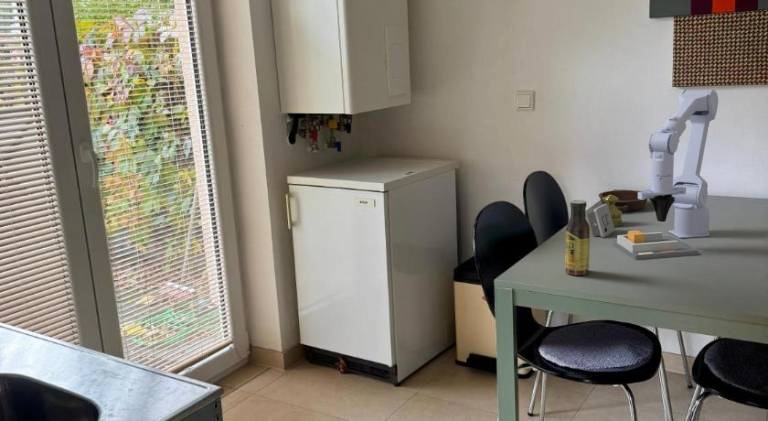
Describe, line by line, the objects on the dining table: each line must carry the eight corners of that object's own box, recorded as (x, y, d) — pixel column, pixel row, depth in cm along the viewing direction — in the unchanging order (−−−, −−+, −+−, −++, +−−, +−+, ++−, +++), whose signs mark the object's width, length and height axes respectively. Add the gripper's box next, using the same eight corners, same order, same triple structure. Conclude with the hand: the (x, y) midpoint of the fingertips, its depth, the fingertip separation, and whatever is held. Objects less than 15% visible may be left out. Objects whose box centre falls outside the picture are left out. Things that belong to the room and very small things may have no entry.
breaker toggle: (637, 244, 210) (637, 230, 209) (644, 248, 205) (644, 234, 204) (627, 244, 210) (627, 230, 209) (634, 249, 205) (634, 234, 204)
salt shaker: (597, 227, 235) (597, 197, 233) (599, 221, 242) (600, 192, 240) (621, 228, 233) (621, 198, 230) (622, 222, 239) (623, 193, 237)
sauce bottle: (561, 270, 195) (561, 199, 190) (584, 268, 195) (584, 197, 191) (570, 277, 188) (570, 204, 184) (593, 275, 189) (593, 202, 184)
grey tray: (670, 239, 217) (671, 228, 216) (697, 254, 201) (697, 242, 200) (612, 244, 215) (612, 233, 215) (635, 259, 200) (635, 247, 199)
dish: (592, 213, 254) (592, 199, 253) (605, 200, 273) (605, 187, 272) (643, 216, 246) (644, 202, 245) (653, 202, 264) (653, 189, 263)
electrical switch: (603, 238, 222) (601, 209, 220) (587, 238, 225) (585, 209, 224) (615, 231, 229) (612, 203, 228) (599, 231, 232) (597, 203, 231)
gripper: (675, 169, 209) (674, 214, 212) (631, 175, 205) (631, 220, 208) (691, 173, 202) (689, 220, 205) (646, 179, 199) (645, 226, 202)
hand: (661, 220), depth 206 cm, fingers closed
